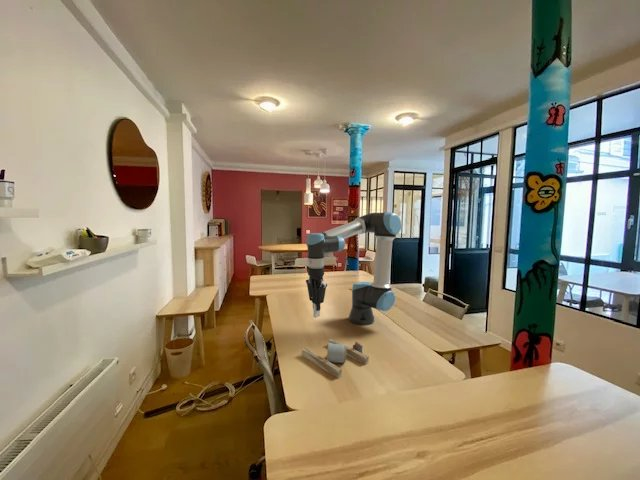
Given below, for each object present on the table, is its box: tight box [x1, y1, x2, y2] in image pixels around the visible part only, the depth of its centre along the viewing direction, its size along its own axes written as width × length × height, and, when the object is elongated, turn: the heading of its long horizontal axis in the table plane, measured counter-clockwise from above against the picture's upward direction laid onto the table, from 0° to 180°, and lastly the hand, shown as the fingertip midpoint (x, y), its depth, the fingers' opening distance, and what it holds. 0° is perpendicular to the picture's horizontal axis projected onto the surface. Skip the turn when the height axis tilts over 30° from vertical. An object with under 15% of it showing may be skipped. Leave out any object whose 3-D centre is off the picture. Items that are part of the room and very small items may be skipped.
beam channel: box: [301, 338, 370, 379], centre depth 125 cm, size 22×23×5 cm
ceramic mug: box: [326, 342, 347, 364], centre depth 123 cm, size 11×8×8 cm
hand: (316, 316), depth 133 cm, fingers closed
